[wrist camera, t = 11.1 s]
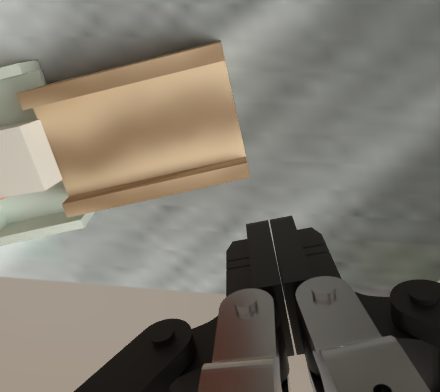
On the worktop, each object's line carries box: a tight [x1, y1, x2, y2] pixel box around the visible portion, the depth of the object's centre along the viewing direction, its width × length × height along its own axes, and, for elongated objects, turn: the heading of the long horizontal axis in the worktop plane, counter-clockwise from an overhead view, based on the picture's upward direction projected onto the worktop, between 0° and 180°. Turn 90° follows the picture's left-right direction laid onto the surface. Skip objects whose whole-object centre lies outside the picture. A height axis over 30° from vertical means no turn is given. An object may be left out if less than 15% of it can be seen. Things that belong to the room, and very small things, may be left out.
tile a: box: [0, 119, 63, 198], centre depth 32 cm, size 5×5×2 cm
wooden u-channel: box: [16, 41, 250, 218], centre depth 33 cm, size 10×15×6 cm, turn 103°
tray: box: [0, 60, 95, 246], centre depth 35 cm, size 14×9×4 cm, turn 13°
